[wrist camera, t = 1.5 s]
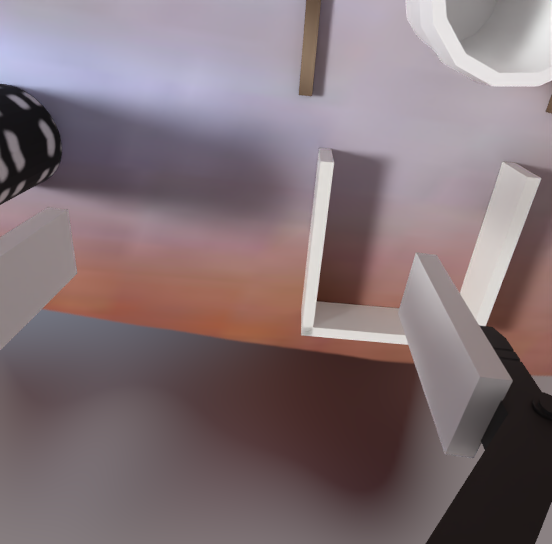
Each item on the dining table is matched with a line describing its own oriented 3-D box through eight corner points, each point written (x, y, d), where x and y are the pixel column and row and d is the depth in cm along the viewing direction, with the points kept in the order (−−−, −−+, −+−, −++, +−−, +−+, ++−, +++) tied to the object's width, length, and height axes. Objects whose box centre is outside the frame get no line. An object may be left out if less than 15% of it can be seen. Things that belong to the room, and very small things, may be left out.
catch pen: (319, 147, 35) (320, 161, 31) (514, 162, 34) (541, 178, 30) (301, 308, 42) (301, 335, 39) (460, 322, 42) (476, 350, 38)
